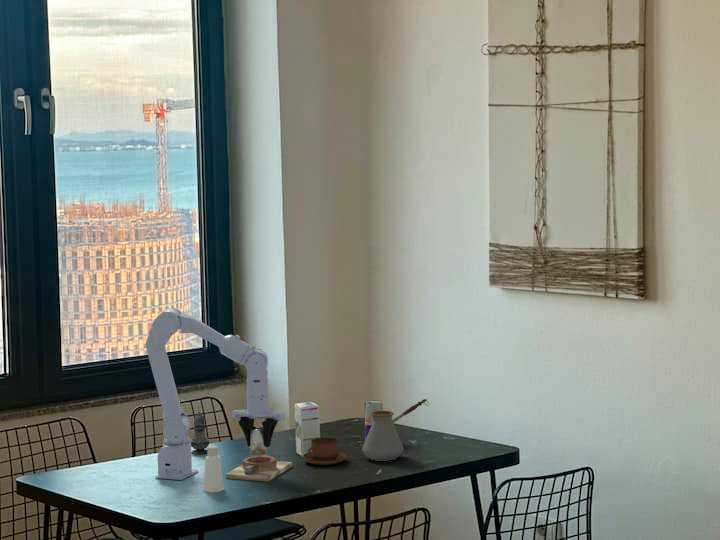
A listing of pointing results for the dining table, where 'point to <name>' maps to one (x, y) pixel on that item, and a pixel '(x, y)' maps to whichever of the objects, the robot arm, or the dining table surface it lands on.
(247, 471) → the coupling stand
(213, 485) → the white squeeze bottle
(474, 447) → the dining table surface
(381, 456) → the coffee pot
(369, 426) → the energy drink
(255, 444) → the cylinder
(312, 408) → the syrup box
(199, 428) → the grey flanged cylinder
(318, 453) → the cup and saucer
